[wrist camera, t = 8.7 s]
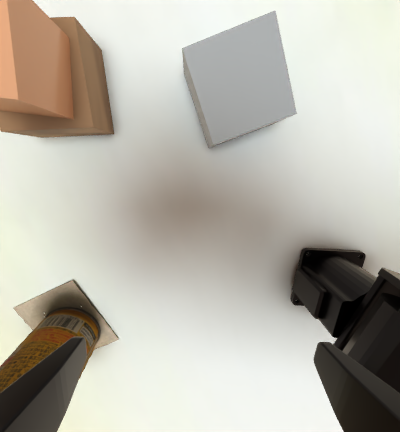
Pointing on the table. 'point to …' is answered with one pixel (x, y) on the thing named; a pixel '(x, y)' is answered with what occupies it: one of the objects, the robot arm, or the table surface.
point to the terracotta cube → (33, 62)
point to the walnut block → (81, 93)
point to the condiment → (55, 329)
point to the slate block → (239, 79)
